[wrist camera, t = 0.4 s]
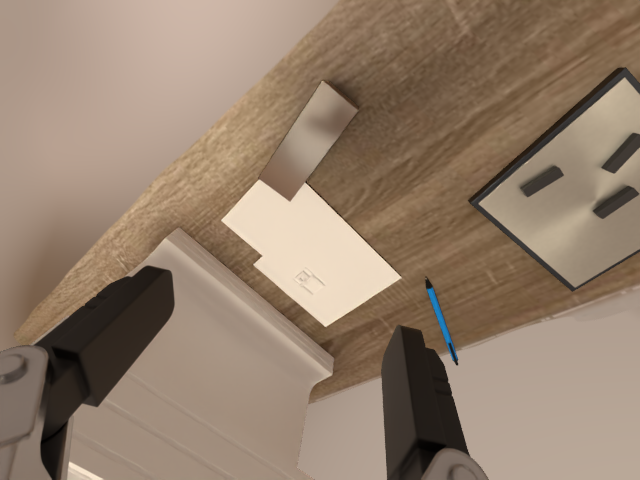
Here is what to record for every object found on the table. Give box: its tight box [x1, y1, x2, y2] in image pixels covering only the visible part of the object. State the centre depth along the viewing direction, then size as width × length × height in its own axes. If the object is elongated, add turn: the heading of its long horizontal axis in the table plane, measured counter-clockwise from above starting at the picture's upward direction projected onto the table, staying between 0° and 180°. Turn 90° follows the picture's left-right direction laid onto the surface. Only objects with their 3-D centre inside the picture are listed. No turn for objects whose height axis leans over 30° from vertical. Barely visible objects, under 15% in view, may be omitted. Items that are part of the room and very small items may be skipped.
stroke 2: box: [601, 133, 640, 174], centre depth 31 cm, size 4×1×1 cm, turn 158°
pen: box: [426, 278, 458, 365], centre depth 46 cm, size 1×19×1 cm, turn 25°
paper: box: [221, 179, 402, 327], centre depth 43 cm, size 25×17×1 cm
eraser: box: [258, 80, 359, 202], centre depth 33 cm, size 12×4×6 cm, turn 143°
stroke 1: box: [520, 166, 564, 197], centre depth 33 cm, size 4×1×1 cm, turn 133°
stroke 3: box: [593, 186, 639, 219], centre depth 33 cm, size 4×1×1 cm, turn 143°
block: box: [30, 227, 334, 480], centre depth 39 cm, size 35×8×28 cm, turn 44°
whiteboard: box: [468, 68, 640, 292], centre depth 34 cm, size 18×20×1 cm
